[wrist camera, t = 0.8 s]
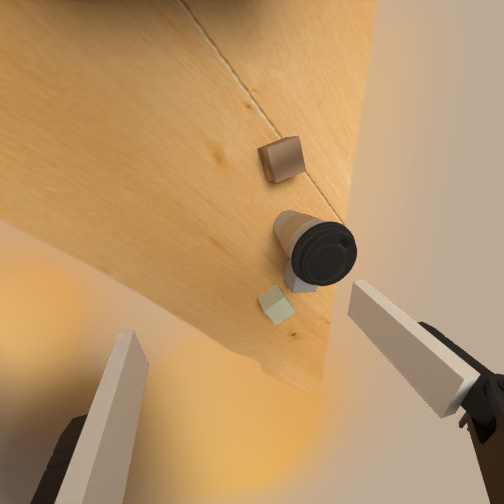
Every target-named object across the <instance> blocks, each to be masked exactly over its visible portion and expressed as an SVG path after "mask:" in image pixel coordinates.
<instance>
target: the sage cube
mask: <svg viewBox="0 0 504 504" xmlns="http://www.w3.org/2000/svg"><path fill="white" fill-rule="evenodd" d="M257 298H258V300H259V302H260V304H261V307H262V309H263V311H264V313H265V314H266V315H267V316H268V317H269V318H270V319H271V320H272V321H273V323H274V324H275V325H276V326H277V325H278V324H279V323H281V322H282V321H284V320H285V319H287V318H288V317H289V316H291V315H292V314H294V313H295V312H296V311H295V309H294V307H293V306H292V304H291V303H290V301H289V300H288V298H287V297H286V295H285V294H284V293H283V292H282V290H281V289H280V288H279V287H278V285H277V284H275V285H273V286H272V287H271V288H269V289H268V290H266V291H265V292H264V293H262V294H261V295H259V296H258V297H257Z"/></svg>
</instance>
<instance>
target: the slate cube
mask: <svg viewBox="0 0 504 504" xmlns="http://www.w3.org/2000/svg"><path fill="white" fill-rule="evenodd" d="M284 281H285V283H286V284H287V285H288V287H289V288H290V290H291V291H292V293H301V292H316V288H317V285H310V284H307V283H305V282H303V281H302V280H301V279H299V278H298V277H297V276H296V275H295V273H294V271H293V269H292V265H291V260H290V259H287V263H286V269H285V275H284Z"/></svg>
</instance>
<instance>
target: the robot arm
mask: <svg viewBox="0 0 504 504" xmlns="http://www.w3.org/2000/svg"><path fill="white" fill-rule="evenodd" d="M348 315H349V316H350V318H352V320H353V321H354V322H355V323H356V324H357V325H358V327H359V328H360V329H361V330H362V331H363V332H364V333H365V334H366V335H367V337H368V338H369V339H370V340H371V341H372V342H373V343H374V344H375V346H376V347H377V348H378V349H379V350H380V351H381V352H382V353H383V354H384V355H385V357H386V358H387V359H388V360H389V361H390V362H391V363H392V364H393V366H394V367H395V368H396V369H397V370H398V371H399V372H400V374H401V375H402V376H403V377H404V378H405V379H406V380H407V381H408V382H409V384H410V385H411V386H412V387H413V388H414V389H415V390H416V391H417V393H418V394H419V395H420V396H421V397H422V398H423V399H424V400H425V401H426V402H427V404H428V405H429V406H430V407H431V408H432V409H433V410H434V412H435V413H436V414H437V415H438V416H439V417H440V418H444V417H446V416H449V415H452V414H455V413H456V411H457V410H458V408H459V407H460V405H461V406H462V407H463V408H464V409H465V410H466V413H465V414H464V415H463V417H462V418H461V420H460V422H459V427H460V428H463V427H464V425H465V424H466V422H467V425H468V428H467V430H468V431H469V432H470V435H471V439H472V442H473V445H474V449H475V452H476V456H477V459H478V463H479V466H480V470H481V473H482V476H483V480H484V483H485V487H486V490H487V494H488V497H489V501H490V504H504V375H502V374H494V373H493V372H491V371H490V370H488V369H487V368H486V367H484V366H483V365H482V364H481V363H479V362H478V361H477V360H475V359H474V358H473V357H472V356H470V355H469V354H468V353H466V352H465V351H464V350H462V349H461V348H460V347H459V346H457V345H455V344H454V343H453V342H452V341H451V340H449V339H448V338H446V337H445V336H444V335H443V334H442V333H441V332H439V331H438V330H437V329H435V328H434V327H432V326H430V325H428V324H426V323H424V322H418V323H417V322H415V321H414V320H413V319H412V318H411V317H409V316H408V315H407V314H406V313H404V312H403V311H402V310H400V309H399V308H398V307H397V306H396V305H395V304H393V303H392V302H391V301H390V300H388V299H387V298H386V297H385V296H383V295H382V294H381V293H380V292H378V291H377V290H376V289H375V288H373V287H372V286H371V285H370V284H369V283H367V282H366V281H365V280H360V281H355V282H353V286H352V292H351V298H350V304H349V310H348ZM148 366H149V364H148V361H147V359H146V357H145V355H144V353H143V350H142V348H141V346H140V344H139V341H138V339H137V337H136V335H135V332H134V331H131V332H127V333H122V334H118V336H117V339H116V342H115V345H114V347H113V350H112V353H111V355H110V358H109V361H108V363H107V366H106V369H105V371H104V374H103V376H102V379H101V382H100V384H99V387H98V390H97V393H96V395H95V398H94V400H93V403H92V406H91V408H90V411H89V414H87V415H83V416H79V417H76V418H73V419H72V421H71V422H70V423H69V425H68V426H67V428H66V429H65V430H64V431H63V433H62V434H61V436H60V438H59V440H58V442H57V445H56V447H55V449H54V451H53V455H52V456H51V458H50V461H49V463H48V465H47V470H46V471H45V472H44V474H43V477H42V479H41V481H40V483H39V485H38V488H37V490H36V492H35V494H34V497H33V499H32V501H31V503H30V504H122V503H123V498H124V493H125V487H126V482H127V477H128V472H129V466H130V461H131V456H132V451H133V445H134V440H135V435H136V429H137V424H138V419H139V413H140V408H141V403H142V397H143V392H144V387H145V382H146V377H147V371H148Z"/></svg>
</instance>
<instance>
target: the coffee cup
mask: <svg viewBox="0 0 504 504" xmlns="http://www.w3.org/2000/svg"><path fill="white" fill-rule="evenodd" d="M273 230H274V233H275V235H276V236H277V238H278V239H279V241H280V244H281V246H282V247H283V249H284V251H285V252H286V254H287V256H288V257H289V259H290V260H291V265H292V269H293V271H294V273H295V275H296V276H297V277H298V278H299V279H301V280H302V281H303V282H305V283H307V284H310V285H318V286H327V285H331V284H334V283H336V282H338V281H340V280H341V279H342V278H344V277H345V276H346V275H347V274H348V273H349V272H350V270H351V269H352V267H353V265H354V263H355V261H356V257H357V247H356V244H355V239H354V237H353V235H352V233H351V232H350V231H349V230H348V229H347V228H346V227H345V226H344V225H342V224H340V223H337V222H326V221H324V220H321V219H318V218H315V217H312V216H309V215H306V214H301V213H298V212H295V211H290V210H289V211H285V212H283V213H281V214H280V215H279V216H278V217H277V219H276V220H275V222H274V226H273Z"/></svg>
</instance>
